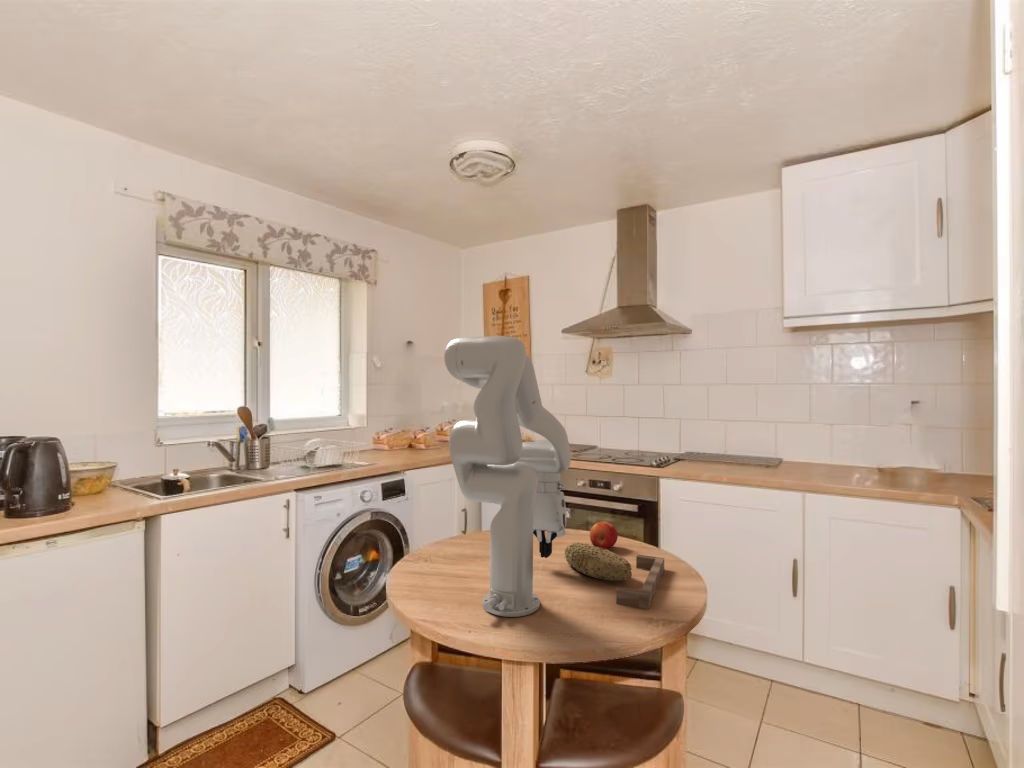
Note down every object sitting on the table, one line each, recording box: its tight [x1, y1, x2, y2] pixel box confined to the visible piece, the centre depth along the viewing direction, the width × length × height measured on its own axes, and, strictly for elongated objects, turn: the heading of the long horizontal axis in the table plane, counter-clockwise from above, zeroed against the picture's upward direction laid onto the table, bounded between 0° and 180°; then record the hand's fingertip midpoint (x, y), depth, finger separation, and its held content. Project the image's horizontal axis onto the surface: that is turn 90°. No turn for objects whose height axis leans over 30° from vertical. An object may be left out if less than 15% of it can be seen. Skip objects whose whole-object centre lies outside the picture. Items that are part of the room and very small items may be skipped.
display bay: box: [615, 554, 665, 610], centre depth 124 cm, size 27×7×3 cm, turn 156°
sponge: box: [564, 542, 633, 582], centre depth 132 cm, size 13×8×20 cm
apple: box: [589, 520, 619, 550], centre depth 152 cm, size 8×8×8 cm
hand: (545, 556), depth 134 cm, fingers closed
